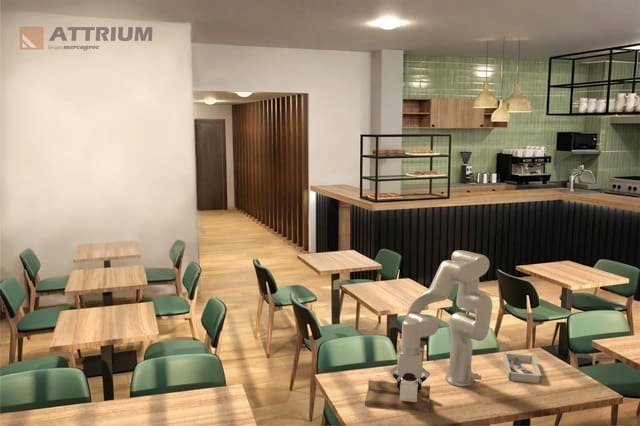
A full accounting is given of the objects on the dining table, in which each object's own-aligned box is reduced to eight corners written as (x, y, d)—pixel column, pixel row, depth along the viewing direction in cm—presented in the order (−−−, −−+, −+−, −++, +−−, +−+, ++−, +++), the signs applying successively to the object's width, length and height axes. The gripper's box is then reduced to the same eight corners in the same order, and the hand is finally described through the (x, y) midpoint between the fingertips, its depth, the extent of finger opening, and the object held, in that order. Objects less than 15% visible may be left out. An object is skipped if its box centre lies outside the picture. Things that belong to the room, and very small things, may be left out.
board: (429, 398, 235) (430, 385, 235) (428, 412, 224) (429, 398, 223) (368, 391, 241) (368, 378, 240) (364, 405, 229) (365, 391, 228)
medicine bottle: (417, 402, 226) (418, 375, 224) (399, 400, 227) (400, 373, 225) (417, 394, 233) (418, 367, 231) (400, 392, 234) (401, 365, 232)
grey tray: (533, 362, 272) (533, 355, 272) (541, 383, 250) (541, 376, 249) (503, 359, 275) (503, 352, 275) (508, 380, 253) (509, 372, 252)
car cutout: (505, 364, 269) (506, 355, 268) (517, 362, 271) (518, 354, 270) (525, 378, 255) (525, 368, 254) (537, 376, 256) (538, 367, 256)
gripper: (432, 347, 229) (430, 388, 231) (389, 344, 232) (388, 383, 235) (432, 355, 221) (430, 396, 224) (388, 351, 225) (387, 392, 228)
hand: (409, 389), depth 229 cm, fingers closed on medicine bottle, 7 cm apart
